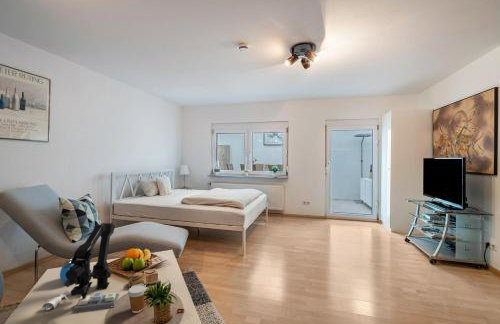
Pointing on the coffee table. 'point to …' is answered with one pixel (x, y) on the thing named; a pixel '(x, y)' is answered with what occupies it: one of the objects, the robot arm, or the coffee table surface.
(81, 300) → the key ivory
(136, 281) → the pastry
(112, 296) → the key sage
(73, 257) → the robot arm
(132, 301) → the disposable coffee cup
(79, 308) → the keypad
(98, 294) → the key blue
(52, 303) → the woman figurine
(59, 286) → the coffee table surface
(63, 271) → the alarm clock
